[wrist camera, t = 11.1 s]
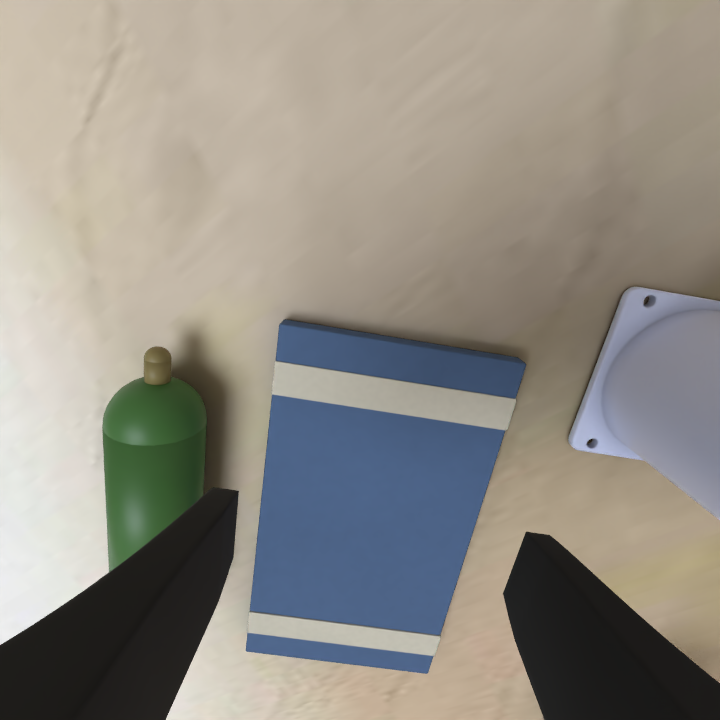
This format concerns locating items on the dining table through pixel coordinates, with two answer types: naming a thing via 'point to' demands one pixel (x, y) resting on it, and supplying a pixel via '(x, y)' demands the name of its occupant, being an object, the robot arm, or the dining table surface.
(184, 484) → the courgette
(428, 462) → the towel
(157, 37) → the dining table surface
